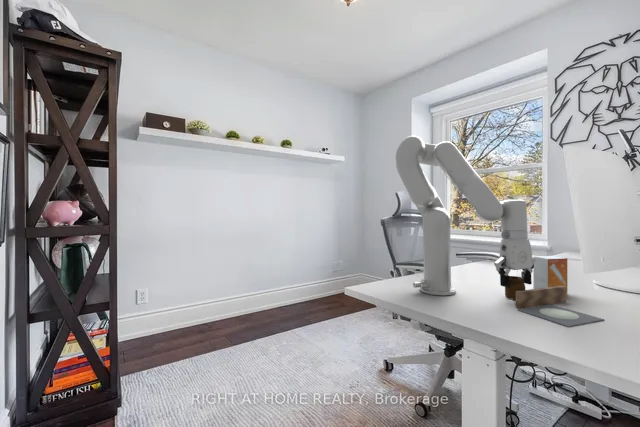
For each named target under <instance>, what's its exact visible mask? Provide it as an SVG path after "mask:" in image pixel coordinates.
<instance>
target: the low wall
mask: <svg viewBox="0 0 640 427" xmlns="http://www.w3.org/2000/svg"><path fill="white" fill-rule="evenodd" d="M566 302H567V295H566V286H554V287H546V288H538V289H533V288H531V289H530V288H529V289H525V290H522V291H516V300H515V308H517V309H523V308H530V307H536V306H543V305H549V304H552V305H554V304H561V303H566Z"/></svg>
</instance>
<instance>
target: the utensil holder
mask: <svg viewBox="0 0 640 427" xmlns="http://www.w3.org/2000/svg"><path fill="white" fill-rule="evenodd" d="M521 270H522V269H520V270H516V273H519V272H520V274H516V275H509V276H510V287H504V295H505V297H506V298H507V299H511V300H514V301H516V291H522V290H526V284H525V283H523V282H524V278H522V277H521V273H522V272H521ZM505 271H506V269H505ZM522 271H523V272H525V271H524V270H522ZM522 275H523V274H522ZM523 276H524V275H523Z"/></svg>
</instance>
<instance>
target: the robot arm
mask: <svg viewBox="0 0 640 427" xmlns="http://www.w3.org/2000/svg"><path fill="white" fill-rule="evenodd" d="M394 161H395V167H396V170H397V173H398V175H399V177H400V179H401V181H402V184H403V185H404V187H405V189H406V190H407V192H408V195H409V198H410V200H411V202H412V203H413V205H415V207H416V208H417V209H416V210H418V212H419V214H420V215H421V218H422V237H423V238H422V239H423V240H422V242H423V243H422V244H423V246H422V248H423V278H421V280H420V281H414V282H413V283H412V286H413V288H419V291H420V290H421V291H420V292H422V293H425V294H427V295H433V296H452V295H455V294H457V289H456V288H454V287H453V286H452V262H451V261H452V259H451V258H452V257H451V256H452V255H451V253H452V251H451V249H452V248H451V229H452V228H451V227H452V226H451V223H452V222H451V217H450V214H449V212H448V211H447V210H446V208H445V205H444V204H443V202H442V200H441V198H440V196H439V194H438V193H437V191H436V189H435V187H433V185H432V184H431V182H430V181H429V179H428V178H427V176H426V174H425V172H424V170H423V168H422V167H421V165H420V164H423V165H425V166H426V165H427V166H433V167H439V168H440V169H441V170H442V172H443V174H445V176H446V178H448V180H449V181H450V183H451V184H452V186H453V187H454V188H456V190H458V191H459V192H460V193H461V194H462V195H464V197H465V198H466V199H467V201H468V202H469V204H471V206H472V207H473V208H474V210H475V214H476V216H477V218H479V219H480V220H481V221H484V222H489V223H493V222H497V221H499V220H500V221H501V222H500V226H501V229H500V230H501V234H500V236H501V239H500V245H499V258H498V259H497V260H496V261H494V264H493V265H494V267H495V270H496V271H497V273H498V275H499V281H500V282H499V284H500V286H501V287H504V288H505V287H510V276H511V275H509V274H510V272H511V270H513V271H520V270H522V271H520V276H521V277H522V278H524V282H523V283H524V284H525V285H532V284H533V279H532V273H533V268H534V263H535V259H534V258H533V251H532V245H531V242H530V238H529V239H528V210H527V203H526V200H524V199H507V200H501V201H500V200H499V198H497V196H496V195H495V194H494V192H493V191H492V190H491V188H490V187H489V186H488V185H487V183H485V181H484V180H483V179H482V177H480V175H479V174H478V173H477V172H476V170H474V168H473V166H472V165H471V164H470V163H469V162H468V161H467V159H466V158H465V156H464V155H463V153H461V151H460V150H459V149H458V147H457V146H456V145H455V144H454V143H453V142H451V141H448V140H445V141H441V142H439V143H438V144H433V143H427V142H426V143H425V142H424V140H423V139H422V138H421V137H420V136H417V135H409V136H406V137H405V138H404V139H403V140H401V142H400V144H399V146H398V147H397V150H396V153H395V160H394ZM505 269H506V270H505ZM523 270H524V271H525V272H524V271H523ZM521 272H522V273H521ZM522 274H523V275H524V276H523V275H522Z"/></svg>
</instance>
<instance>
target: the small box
mask: <svg viewBox="0 0 640 427" xmlns="http://www.w3.org/2000/svg"><path fill="white" fill-rule="evenodd" d="M532 258H534V259H535V263H534V268H533V269H532V270H533V272H532V273H533V275H532V276H533V279H532V284H533V288H532V289H538V288H546V287H554V286H566V296H567V295H568V258H567V257H563V256H557V255H556V256H555V255H539V256H532Z"/></svg>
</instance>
